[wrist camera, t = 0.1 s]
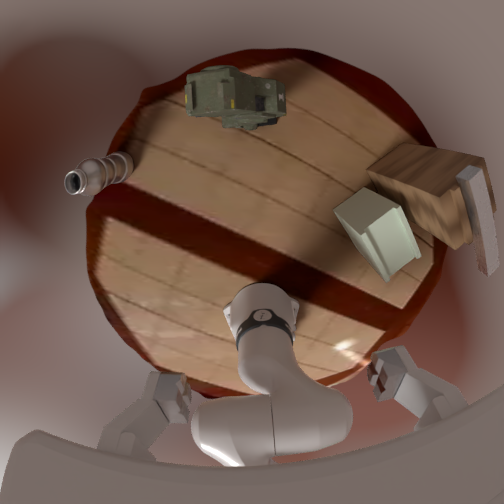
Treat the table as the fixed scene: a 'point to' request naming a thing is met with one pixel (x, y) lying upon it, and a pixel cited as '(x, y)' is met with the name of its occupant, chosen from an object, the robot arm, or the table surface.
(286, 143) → the table surface
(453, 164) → the wood grain block
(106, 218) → the table surface
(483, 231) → the link bar
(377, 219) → the shelf block
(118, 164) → the plastic bottle
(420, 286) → the table surface
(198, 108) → the mechanical leg
